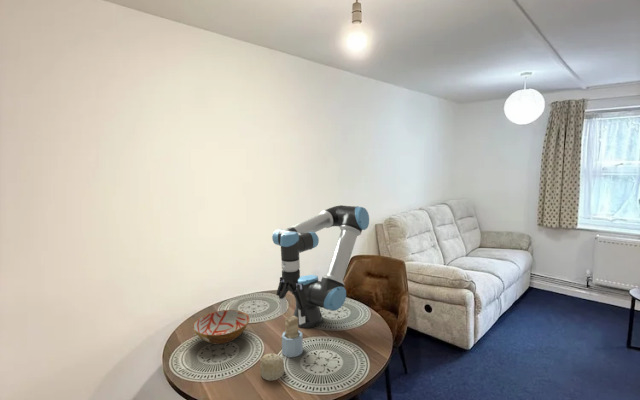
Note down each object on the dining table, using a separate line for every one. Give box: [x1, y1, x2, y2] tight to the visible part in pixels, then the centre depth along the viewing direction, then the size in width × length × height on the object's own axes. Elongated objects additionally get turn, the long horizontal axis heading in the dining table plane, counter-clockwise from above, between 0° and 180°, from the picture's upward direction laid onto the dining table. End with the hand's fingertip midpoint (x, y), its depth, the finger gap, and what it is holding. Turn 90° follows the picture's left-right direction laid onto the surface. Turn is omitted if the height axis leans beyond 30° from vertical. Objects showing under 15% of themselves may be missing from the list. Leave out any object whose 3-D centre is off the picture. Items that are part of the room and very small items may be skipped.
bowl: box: [192, 309, 250, 345], centre depth 152 cm, size 25×25×8 cm
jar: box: [281, 329, 304, 358], centre depth 140 cm, size 9×9×8 cm
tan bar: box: [284, 315, 299, 339], centre depth 140 cm, size 3×4×14 cm, turn 130°
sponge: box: [259, 353, 285, 382], centre depth 126 cm, size 9×10×10 cm
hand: (292, 317), depth 139 cm, fingers open, 13 cm apart
